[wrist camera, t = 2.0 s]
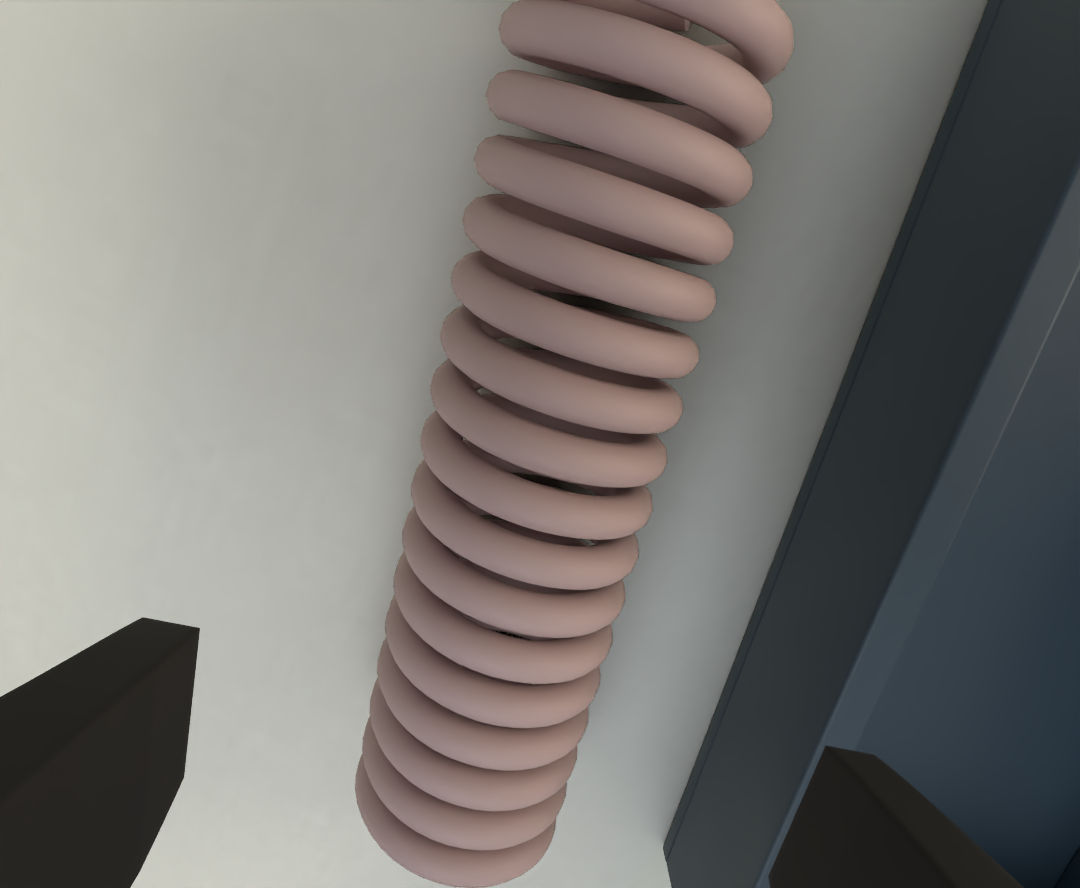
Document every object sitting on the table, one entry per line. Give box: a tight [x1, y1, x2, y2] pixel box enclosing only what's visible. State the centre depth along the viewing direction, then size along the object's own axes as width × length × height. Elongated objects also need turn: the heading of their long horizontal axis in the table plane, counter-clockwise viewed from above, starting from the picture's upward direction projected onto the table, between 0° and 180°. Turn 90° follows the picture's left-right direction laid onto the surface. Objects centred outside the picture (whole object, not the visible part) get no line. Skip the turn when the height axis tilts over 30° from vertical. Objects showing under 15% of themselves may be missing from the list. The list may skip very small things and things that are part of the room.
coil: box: [355, 0, 793, 888], centre depth 15 cm, size 5×5×18 cm
